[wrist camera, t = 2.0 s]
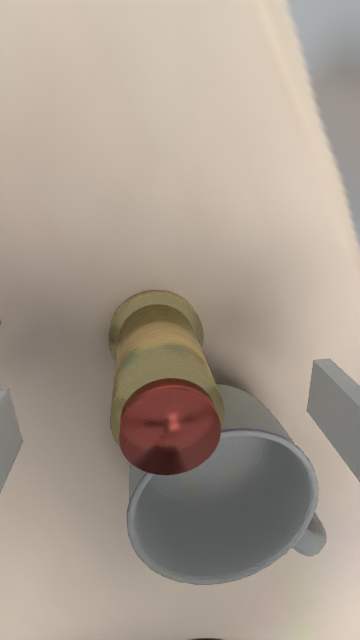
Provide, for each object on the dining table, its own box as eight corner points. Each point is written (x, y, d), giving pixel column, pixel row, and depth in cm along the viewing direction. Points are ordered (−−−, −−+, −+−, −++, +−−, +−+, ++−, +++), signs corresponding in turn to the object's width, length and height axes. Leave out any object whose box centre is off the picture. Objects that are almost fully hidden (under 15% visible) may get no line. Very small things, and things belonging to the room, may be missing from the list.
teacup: (98, 431, 25) (82, 536, 17) (205, 331, 23) (239, 400, 15) (222, 515, 30) (251, 624, 22) (319, 438, 28) (386, 529, 20)
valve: (201, 368, 24) (243, 483, 15) (115, 377, 23) (102, 502, 14) (199, 286, 22) (248, 360, 12) (104, 293, 21) (81, 377, 12)
